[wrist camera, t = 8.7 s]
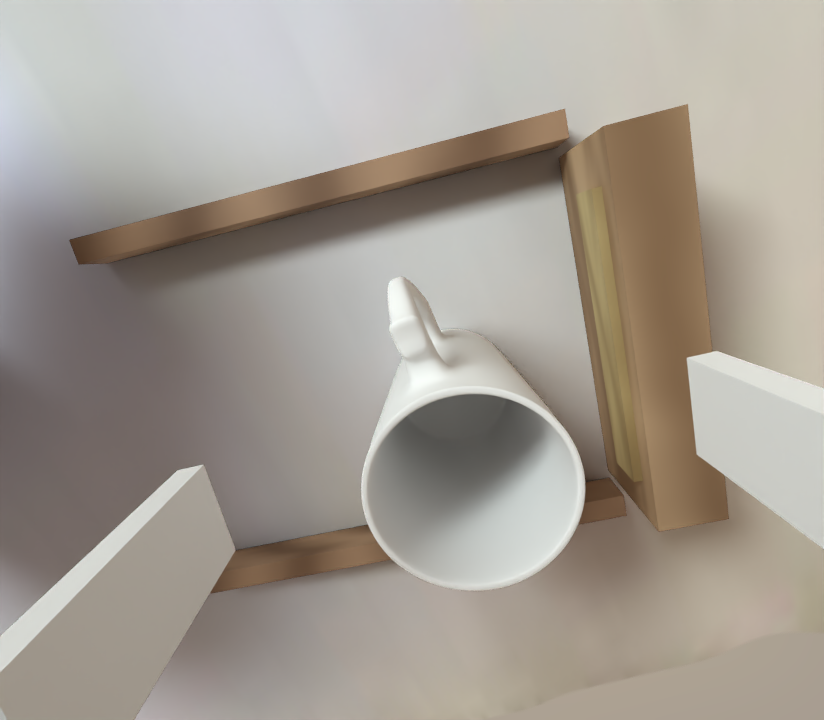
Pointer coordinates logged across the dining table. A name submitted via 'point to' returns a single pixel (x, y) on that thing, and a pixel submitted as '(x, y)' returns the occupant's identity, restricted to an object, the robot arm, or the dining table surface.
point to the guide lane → (311, 195)
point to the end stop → (644, 308)
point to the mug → (466, 460)
